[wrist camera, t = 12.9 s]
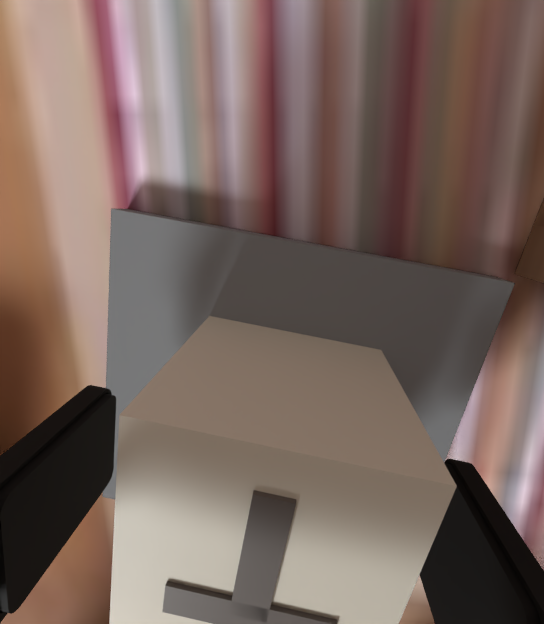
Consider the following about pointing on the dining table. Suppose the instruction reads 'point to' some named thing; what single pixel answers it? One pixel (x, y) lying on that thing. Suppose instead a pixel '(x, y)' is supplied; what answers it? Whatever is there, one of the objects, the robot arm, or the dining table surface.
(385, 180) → the dining table surface
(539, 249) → the walnut screen
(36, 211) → the dining table surface
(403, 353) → the slate mat
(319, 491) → the marked cube
